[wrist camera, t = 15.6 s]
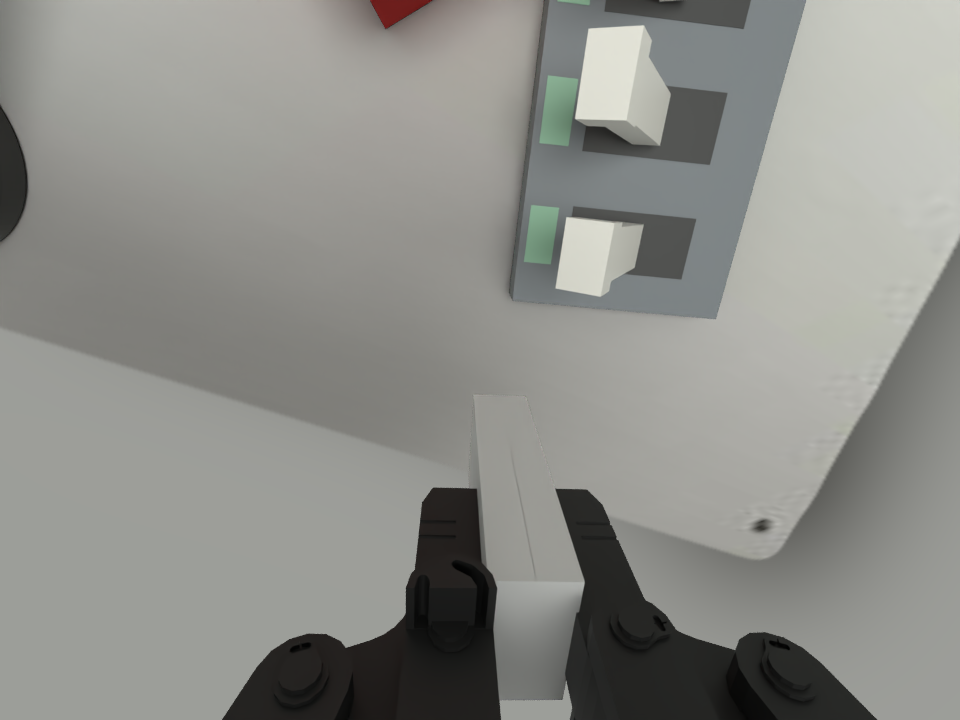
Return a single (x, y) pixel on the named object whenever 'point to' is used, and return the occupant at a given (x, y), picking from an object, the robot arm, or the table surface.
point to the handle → (622, 85)
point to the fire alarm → (396, 9)
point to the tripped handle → (596, 254)
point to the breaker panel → (653, 149)
